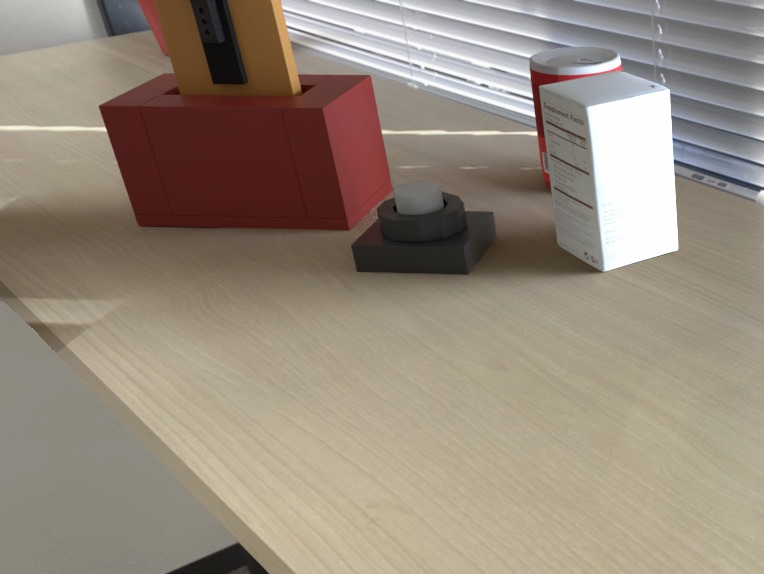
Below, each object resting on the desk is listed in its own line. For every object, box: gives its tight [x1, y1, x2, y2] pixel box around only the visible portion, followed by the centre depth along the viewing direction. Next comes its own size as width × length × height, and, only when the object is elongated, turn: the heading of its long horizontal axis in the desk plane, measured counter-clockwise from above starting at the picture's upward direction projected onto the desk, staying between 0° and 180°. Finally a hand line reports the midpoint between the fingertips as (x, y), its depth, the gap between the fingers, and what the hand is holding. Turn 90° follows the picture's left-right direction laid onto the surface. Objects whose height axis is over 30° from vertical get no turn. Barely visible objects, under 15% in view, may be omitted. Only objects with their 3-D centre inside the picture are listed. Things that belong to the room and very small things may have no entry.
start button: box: [392, 180, 444, 215], centre depth 90 cm, size 4×4×2 cm
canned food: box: [528, 46, 623, 190], centre depth 103 cm, size 8×8×11 cm
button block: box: [350, 191, 498, 276], centre depth 92 cm, size 9×8×4 cm
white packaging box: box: [539, 70, 679, 273], centre depth 89 cm, size 7×7×13 cm
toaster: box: [98, 72, 394, 231], centre depth 100 cm, size 19×10×10 cm, turn 84°
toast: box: [153, 0, 302, 97], centre depth 95 cm, size 10×2×10 cm, turn 84°
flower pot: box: [137, 0, 169, 57], centre depth 150 cm, size 11×11×10 cm
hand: (236, 79), depth 96 cm, fingers closed on toast, 2 cm apart
